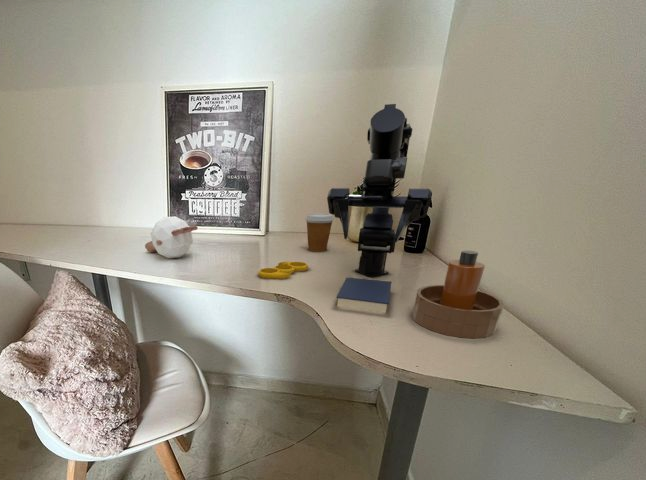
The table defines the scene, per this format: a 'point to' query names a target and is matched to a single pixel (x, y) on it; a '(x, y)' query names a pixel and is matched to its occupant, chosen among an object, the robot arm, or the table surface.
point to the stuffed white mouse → (171, 237)
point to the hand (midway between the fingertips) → (369, 239)
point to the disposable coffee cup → (318, 231)
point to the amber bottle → (462, 281)
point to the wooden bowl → (457, 314)
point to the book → (364, 294)
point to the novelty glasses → (282, 270)
